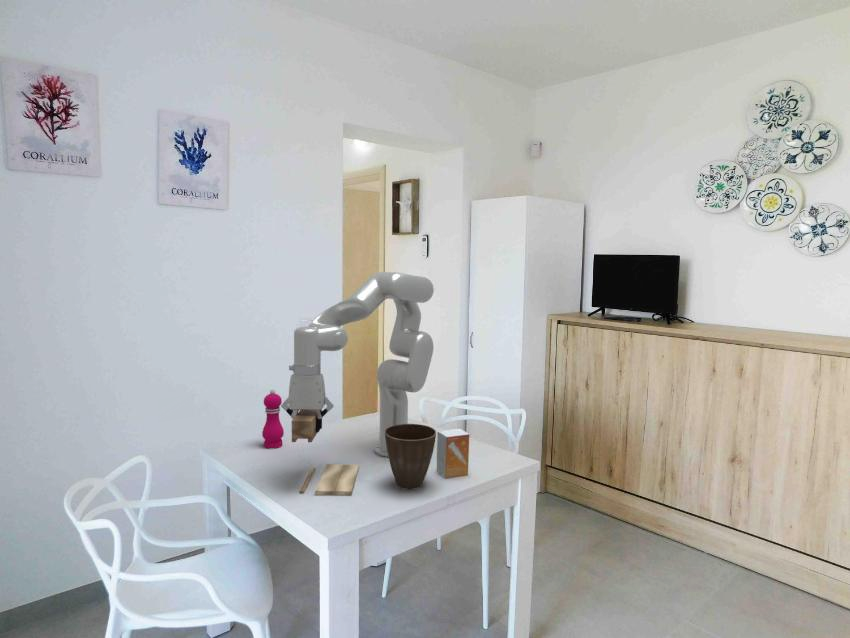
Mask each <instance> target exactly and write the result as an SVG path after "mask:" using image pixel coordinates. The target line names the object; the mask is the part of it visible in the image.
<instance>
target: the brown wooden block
mask: <svg viewBox="0 0 850 638" xmlns="http://www.w3.org/2000/svg"><path fill="white" fill-rule="evenodd" d="M316 419H317V414H316V411H315V410H299V411H298V414H297V415H296V416H295V417H294V419H292V420H291V443H296V442H297V440H299V439H300V440H307V442H308V443H312V442H313V441H314V439H315V437H316V436H317V434H318V433H317V432H316Z"/></svg>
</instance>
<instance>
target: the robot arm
mask: <svg viewBox="0 0 850 638" xmlns="http://www.w3.org/2000/svg"><path fill="white" fill-rule="evenodd" d="M434 290H435V289H434V285H433V282H432V281H431V280H430V279H429V278H427V277H425V276H419V275H412V274H407V273H403V272H402V273H401V272H391V271H378V272H374V273H373V274H372V275H371V276H369V278H368V279H367V280H365V282H363V284H362V285H360V287H359V288H357V290H355V291H354V292H353V293H352V294H351V295H350V296H349V297H347V298H346V299H344V300H341V301H339V302H338V303H336V304H334V305H332V306H329V307H328V308H327V309H325V310H323V311H322V312H320V313H319V314H318V315H317V316H316V317H315V318H314V319H313V320H312V321H311V322H309V325H308V326H300V327H297V328H295V330H294V332H293V364H292V365H288V370H289V371H291V372H293V373H292V374H291V375H290V379H289V384H288V385H289V386H288V397H287V398H286V399H285V400H284V401H283V402H282V403H281V405H280V408H282V409H283V410H284V411H285V412H286V413H287V414H288V415H289V416H290V418H291V419H292V420H293V419H294V417H295V416H296V415H297V414H298V413H299V411H300V410H315V411H316V414H317V419H316V432H317V434H319V432H320V431H321V430H322V428H323V417H325V416H326V415H327V413H329V412H330V411H331V410H332V409H333V408H334V407H335V406H334V403H332V402H331V400H330V399H329V398H328V397H327V396H326V386H325V379H324V374H323V373H321V371H322V370H321V363H322V362H321V359H322V358H321V355H322V353H321V352H323V351H324V352H338V351H340V350H343V349H344V348H345V347H346V345H347V344H348V342H349V341H348V340H349V336H348V333H347V331H346V330H345V329H344V328H343V327H342V326H344V325H347V324H350V323H355V322H360V321H362V320H365V319H368V318H369V317H370V316H371V315H372V314H373V313H374V311H376V310H377V309H378V307H380V306H381V305H382V304H383V302H384V301H385V300H387V299H388V300H389V299H390V300H393V303H394V305H395V310H396V317H395V320H394V325H393V327H392V332H391V336H390V340H389V346H388V347H389V351H390V352H391V353H392V354H393V355H395V356H397V357H400V358H406V359H408V361H405V360H399V359H386V360H383V361H382V362H381V363H380V364H379V366H378V368H377V372H376V376H377V384H378V388H379V444H377V445H376V446H374V452H375V454H376V455H379V456H382V457H386V458H387V457H388V452H387V446H386V438H385V430H386V429H387V428H389V427H391V426H394V425H399V424H409V423H408V419H409V413H408V412H409V411H408V410H409V398H408V395H407V393H418V392H420V391H421V390H422V388H424V385H425V383H426V381H427V376H428V375H429V374H428V373H429V371H430V365H431V363H432V358H433V354H434V341H433V338H432V337H431V335H430V334H429V333H427V332H425V331H422V330H420V326H421V322H422V321H421V320H422V312H421V310H420V307H419V304H423V303H427V302H428V301H430V300H431V299H432V297H433V296H434ZM418 303H419V304H418ZM325 406H326V407H325ZM324 407H325V408H324ZM323 408H324V409H323ZM388 458H389V457H388Z"/></svg>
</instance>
